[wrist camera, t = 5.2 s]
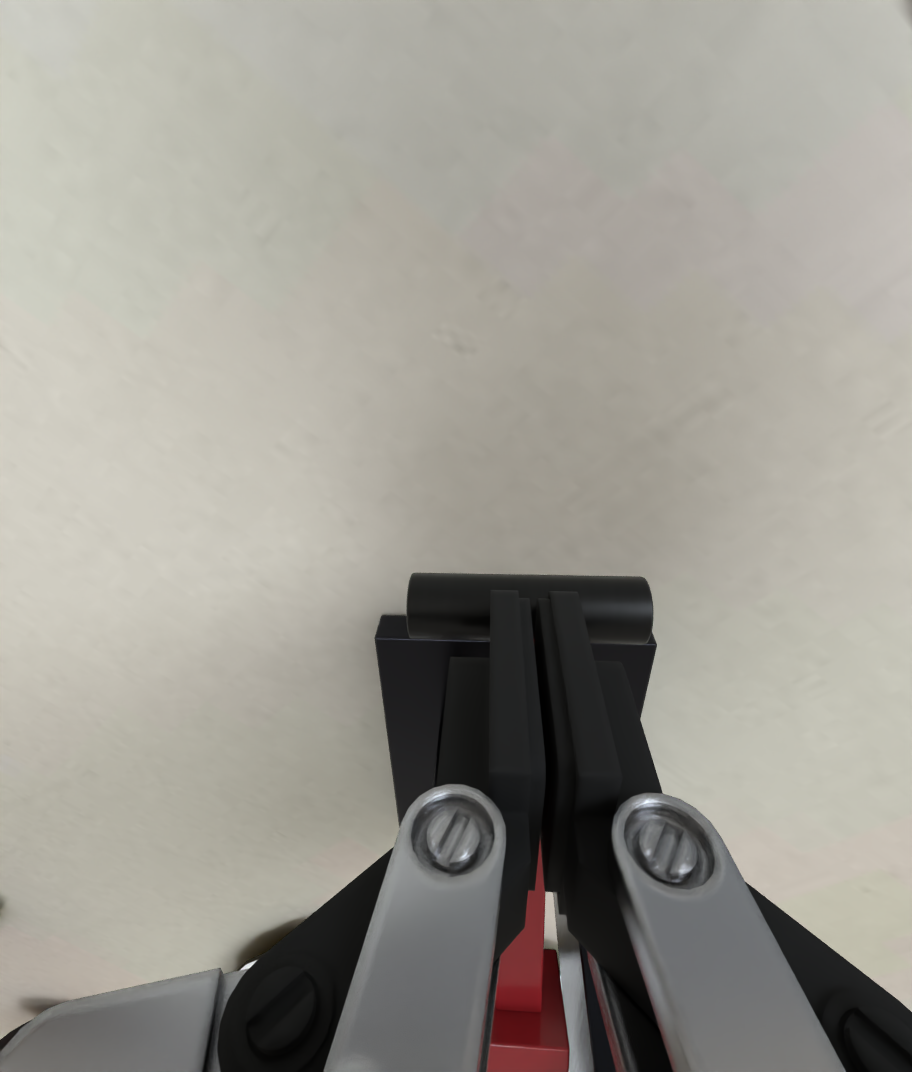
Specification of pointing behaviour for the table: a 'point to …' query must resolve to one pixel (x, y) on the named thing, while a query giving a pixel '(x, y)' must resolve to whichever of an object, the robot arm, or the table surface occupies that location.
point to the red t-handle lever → (526, 967)
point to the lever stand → (414, 746)
